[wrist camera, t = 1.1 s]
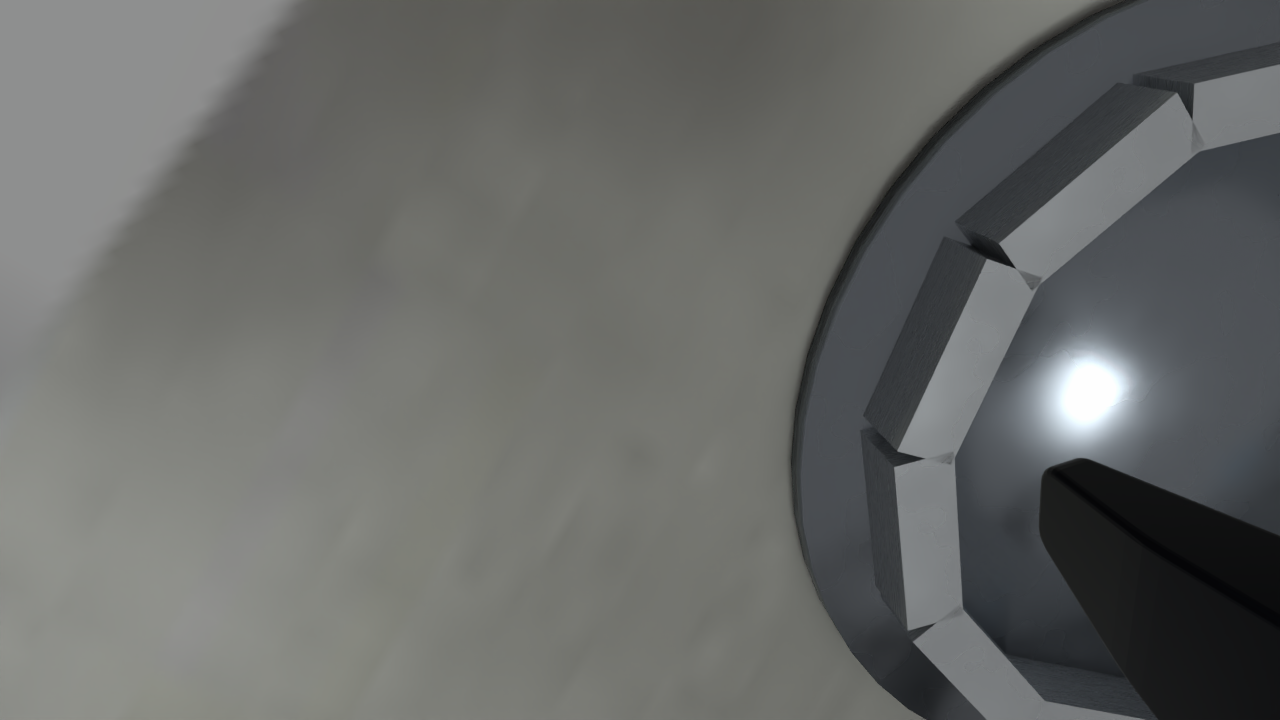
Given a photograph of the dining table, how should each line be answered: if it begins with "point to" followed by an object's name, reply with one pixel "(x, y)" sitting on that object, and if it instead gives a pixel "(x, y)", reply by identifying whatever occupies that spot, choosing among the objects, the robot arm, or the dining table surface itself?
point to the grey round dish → (1047, 352)
